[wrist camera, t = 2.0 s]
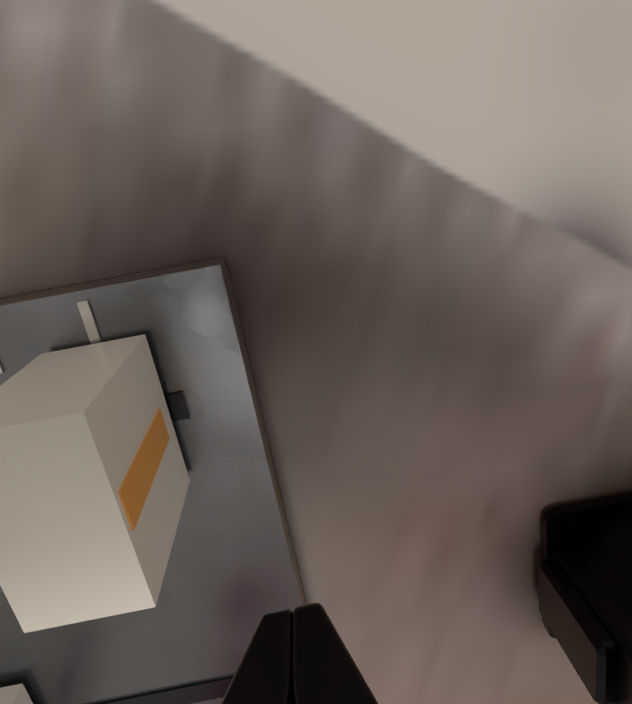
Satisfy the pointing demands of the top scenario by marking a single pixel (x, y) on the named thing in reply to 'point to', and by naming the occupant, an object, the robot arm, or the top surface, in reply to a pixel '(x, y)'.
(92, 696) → the mixer panel
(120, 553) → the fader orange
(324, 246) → the top surface
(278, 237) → the top surface
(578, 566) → the robot arm
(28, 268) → the top surface
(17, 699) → the fader plain
